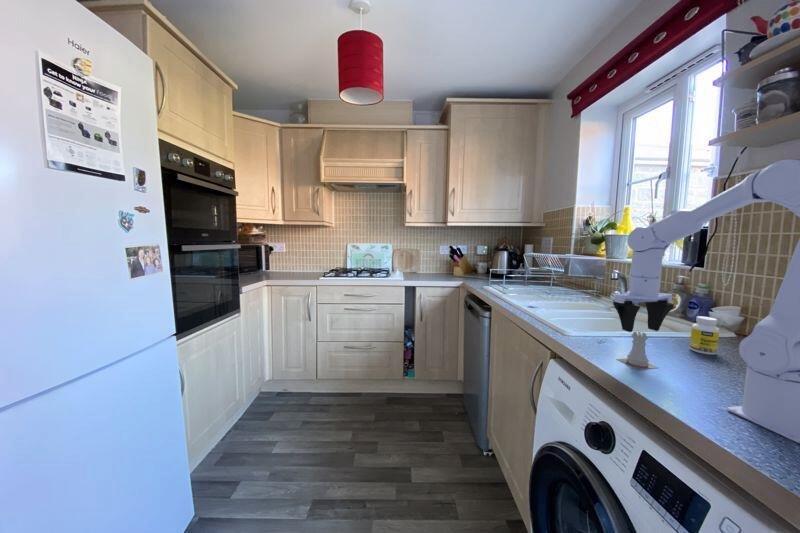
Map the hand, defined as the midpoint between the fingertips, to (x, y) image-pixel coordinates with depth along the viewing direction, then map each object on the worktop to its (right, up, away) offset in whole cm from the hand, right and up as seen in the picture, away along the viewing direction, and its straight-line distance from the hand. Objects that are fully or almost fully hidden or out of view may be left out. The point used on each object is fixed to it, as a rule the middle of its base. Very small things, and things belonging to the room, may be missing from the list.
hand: (640, 330), depth 73 cm
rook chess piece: (0, -9, 0) cm, 9 cm away
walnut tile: (0, -9, +1) cm, 9 cm away
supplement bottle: (+26, -8, +10) cm, 29 cm away
